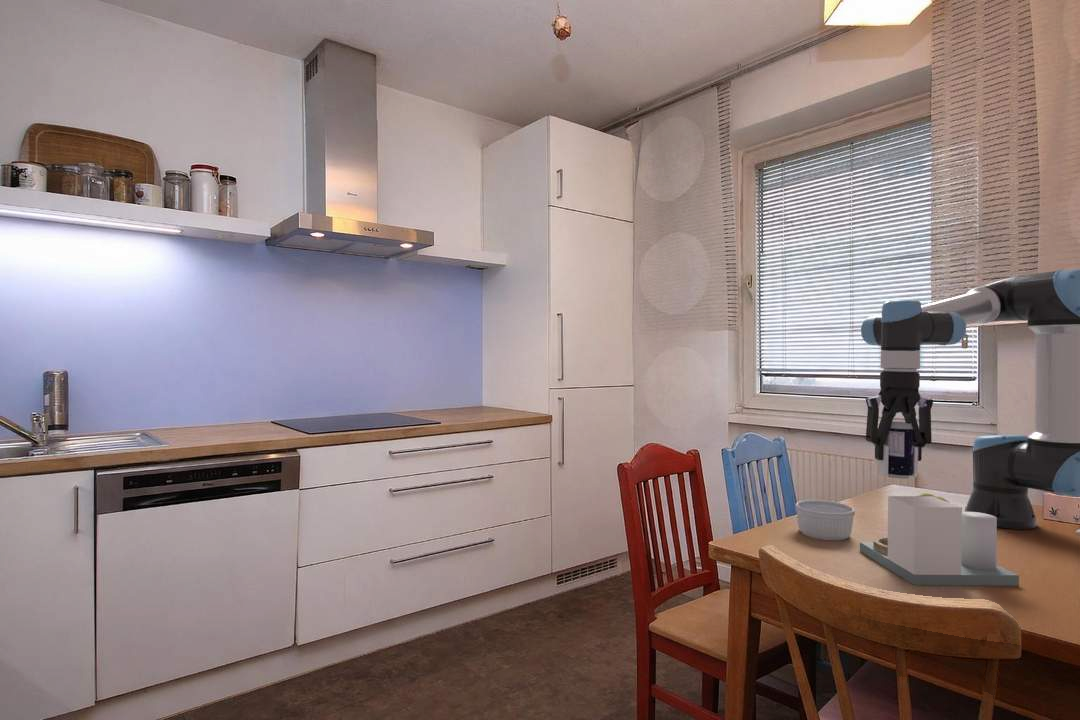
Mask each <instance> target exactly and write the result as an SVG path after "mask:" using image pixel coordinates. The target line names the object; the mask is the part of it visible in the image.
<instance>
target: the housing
mask: <svg viewBox="0 0 1080 720" xmlns="http://www.w3.org/2000/svg"><path fill="white" fill-rule="evenodd" d="M949 502H950V501H948V502H946V501H943V500H941V499H938V498H935V497H932V496H919V495H887V537H888V559H889V560H891V561H892V562H894V563H896V564H897V565H899V566H901V567H902V568H904V569H906V570H907V571H909V572H911V573H912V574H914V575H961V554H962V512H963V507H962V506H959V505H958V504H957V505H956V504H954V503H951V502H950V503H949Z"/></svg>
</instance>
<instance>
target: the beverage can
mask: <svg viewBox="0 0 1080 720" xmlns="http://www.w3.org/2000/svg"><path fill="white" fill-rule="evenodd" d="M911 424H912V423H911ZM911 424H908V423H906V422H905V421H894V420H893V421H892V424H891V427H890V430H889V433H888V436H887V439H886V442H885V446H888V447H889V453H888V476H887V477H888V478H894V479H900V480H901V479H905V480H907V479H909V478H910V477H912V476H911V475H912V474H913V434H914V429H913V427H912V425H911Z"/></svg>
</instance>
